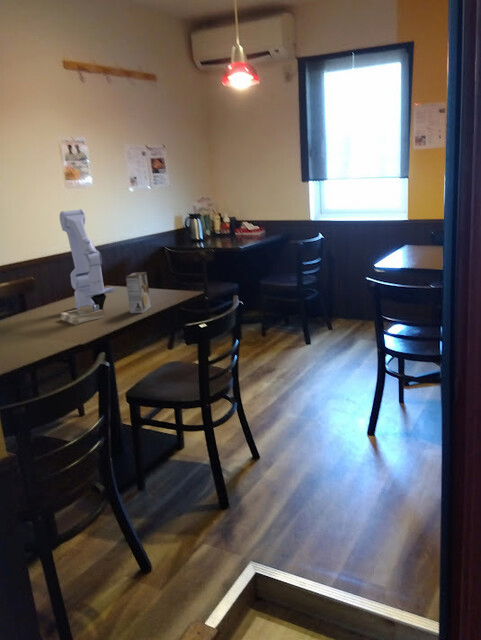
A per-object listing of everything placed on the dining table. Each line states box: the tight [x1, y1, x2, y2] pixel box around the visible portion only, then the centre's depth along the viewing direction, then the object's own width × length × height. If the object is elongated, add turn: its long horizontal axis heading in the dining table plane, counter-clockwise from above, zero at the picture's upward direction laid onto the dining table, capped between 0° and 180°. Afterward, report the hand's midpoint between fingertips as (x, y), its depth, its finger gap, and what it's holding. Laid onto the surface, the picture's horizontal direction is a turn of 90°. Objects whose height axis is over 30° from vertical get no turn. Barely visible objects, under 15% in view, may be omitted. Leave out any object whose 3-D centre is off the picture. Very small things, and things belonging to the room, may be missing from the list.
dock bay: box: [59, 308, 105, 326], centre depth 236 cm, size 14×14×3 cm
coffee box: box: [124, 271, 152, 314], centre depth 241 cm, size 9×6×16 cm
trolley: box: [77, 303, 100, 315], centre depth 238 cm, size 6×8×5 cm
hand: (100, 311), depth 242 cm, fingers closed
